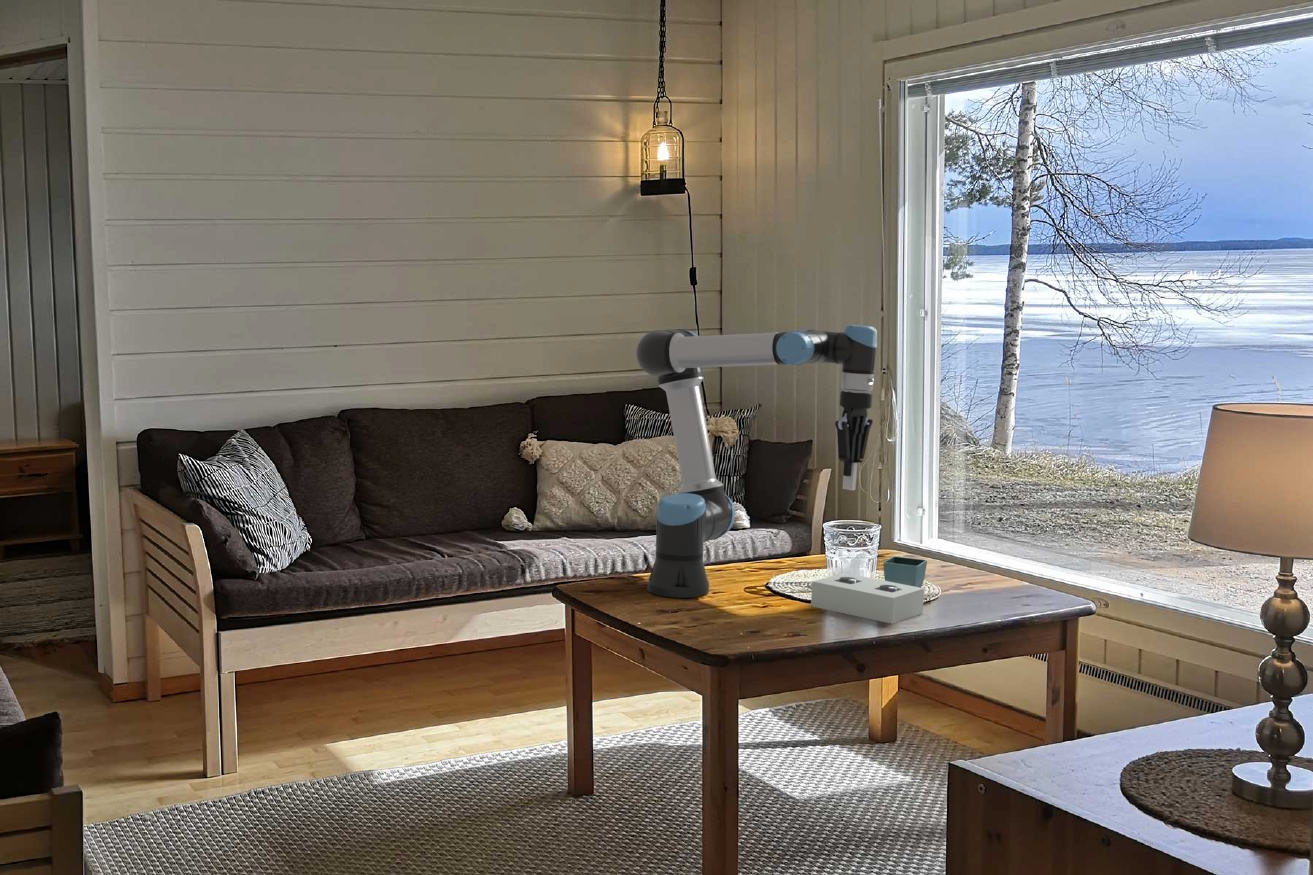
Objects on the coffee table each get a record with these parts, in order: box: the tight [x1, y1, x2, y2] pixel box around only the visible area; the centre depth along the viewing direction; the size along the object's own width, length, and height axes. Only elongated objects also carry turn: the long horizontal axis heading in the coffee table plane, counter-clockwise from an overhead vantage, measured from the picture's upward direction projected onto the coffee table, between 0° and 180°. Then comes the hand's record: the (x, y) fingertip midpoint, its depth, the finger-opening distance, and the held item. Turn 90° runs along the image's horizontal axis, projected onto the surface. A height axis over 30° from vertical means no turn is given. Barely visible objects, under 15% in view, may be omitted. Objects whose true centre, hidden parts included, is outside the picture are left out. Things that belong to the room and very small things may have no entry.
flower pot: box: [882, 556, 928, 588], centre depth 322 cm, size 9×9×9 cm
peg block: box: [810, 572, 925, 625], centre depth 307 cm, size 22×14×6 cm, turn 50°
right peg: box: [880, 585, 897, 592], centre depth 303 cm, size 4×4×6 cm
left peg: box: [839, 577, 856, 584], centre depth 310 cm, size 4×4×6 cm
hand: (848, 489), depth 310 cm, fingers closed
